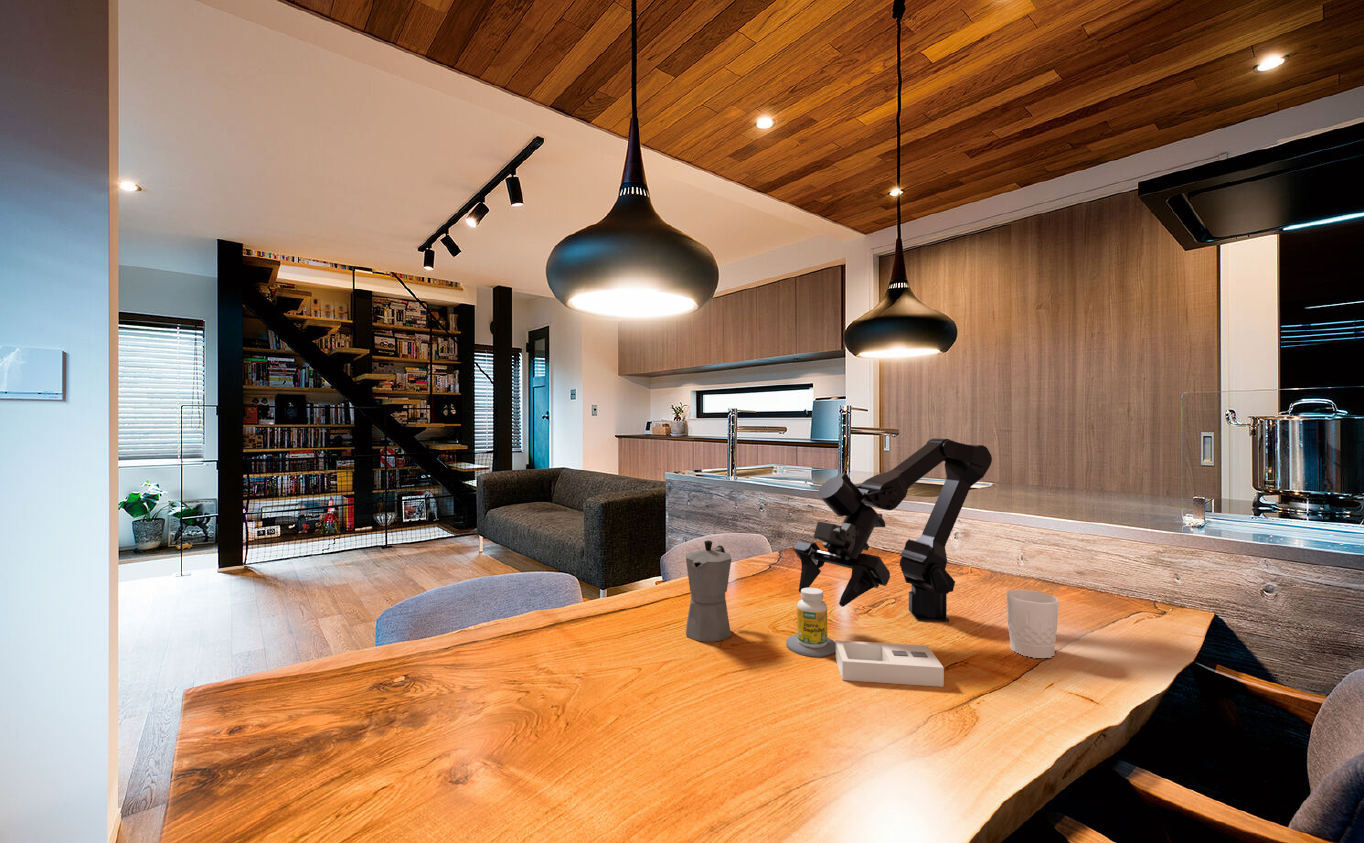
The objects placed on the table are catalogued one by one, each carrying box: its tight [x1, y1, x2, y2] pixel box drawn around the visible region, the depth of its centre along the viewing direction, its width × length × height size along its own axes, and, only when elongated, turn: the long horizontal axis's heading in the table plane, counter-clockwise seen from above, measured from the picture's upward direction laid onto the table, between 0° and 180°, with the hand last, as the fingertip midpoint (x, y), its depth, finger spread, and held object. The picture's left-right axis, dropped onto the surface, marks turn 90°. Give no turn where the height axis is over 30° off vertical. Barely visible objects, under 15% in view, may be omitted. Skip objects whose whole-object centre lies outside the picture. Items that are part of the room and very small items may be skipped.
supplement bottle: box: [796, 587, 828, 648], centre depth 101 cm, size 5×5×10 cm
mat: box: [785, 633, 835, 658], centre depth 101 cm, size 9×9×1 cm
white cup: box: [1006, 589, 1059, 659], centre depth 99 cm, size 8×8×10 cm
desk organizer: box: [834, 639, 945, 688], centre depth 91 cm, size 15×8×3 cm, turn 82°
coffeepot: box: [685, 540, 732, 643], centre depth 108 cm, size 15×9×18 cm, turn 157°
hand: (819, 598), depth 102 cm, fingers open, 9 cm apart
